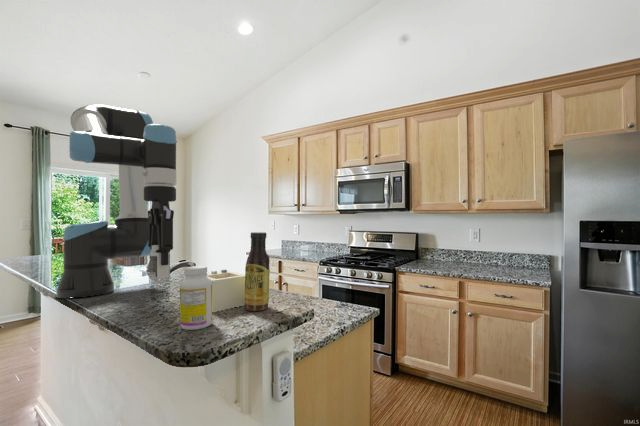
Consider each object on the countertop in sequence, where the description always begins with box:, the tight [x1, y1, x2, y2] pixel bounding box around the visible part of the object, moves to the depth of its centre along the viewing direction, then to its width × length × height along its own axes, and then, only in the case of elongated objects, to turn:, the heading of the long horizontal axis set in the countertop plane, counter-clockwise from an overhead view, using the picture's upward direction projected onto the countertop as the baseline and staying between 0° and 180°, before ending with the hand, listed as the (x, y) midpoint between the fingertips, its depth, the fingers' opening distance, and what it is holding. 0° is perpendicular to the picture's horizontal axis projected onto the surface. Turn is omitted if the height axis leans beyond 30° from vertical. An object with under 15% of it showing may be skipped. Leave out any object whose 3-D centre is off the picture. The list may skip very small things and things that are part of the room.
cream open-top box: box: [206, 269, 245, 313], centre depth 88 cm, size 12×10×9 cm
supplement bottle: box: [179, 265, 213, 331], centre depth 71 cm, size 7×7×13 cm
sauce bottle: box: [244, 231, 271, 312], centre depth 84 cm, size 6×6×20 cm
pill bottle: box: [149, 245, 165, 280], centre depth 83 cm, size 5×5×8 cm
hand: (160, 276), depth 83 cm, fingers closed on pill bottle, 5 cm apart
